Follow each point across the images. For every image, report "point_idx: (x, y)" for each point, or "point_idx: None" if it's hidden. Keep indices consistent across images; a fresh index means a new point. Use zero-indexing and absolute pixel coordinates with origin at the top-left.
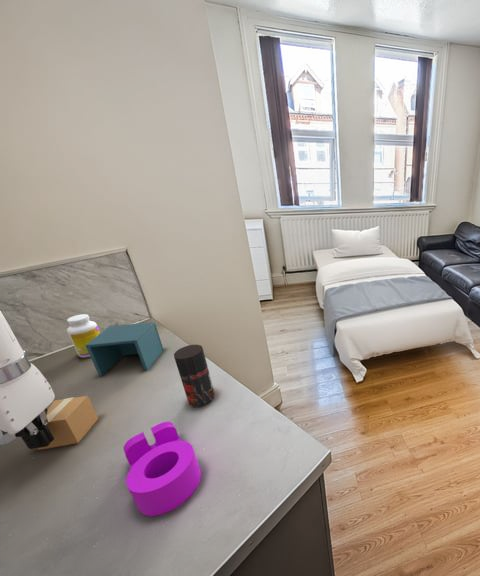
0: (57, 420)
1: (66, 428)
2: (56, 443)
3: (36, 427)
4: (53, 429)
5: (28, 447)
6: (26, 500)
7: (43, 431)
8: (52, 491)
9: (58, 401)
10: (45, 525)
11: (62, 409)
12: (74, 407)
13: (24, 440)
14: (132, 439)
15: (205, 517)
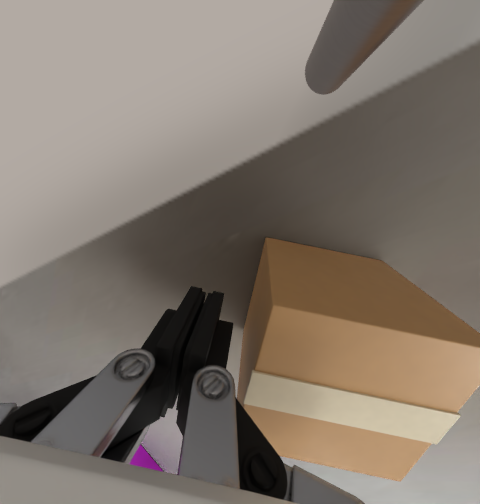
0: None
1: (239, 382)
2: (253, 294)
3: (138, 445)
4: (248, 354)
5: (189, 289)
6: (79, 285)
7: (176, 397)
8: (93, 325)
9: (452, 393)
10: (17, 339)
11: (333, 424)
12: (318, 457)
13: (148, 340)
14: None
15: None
